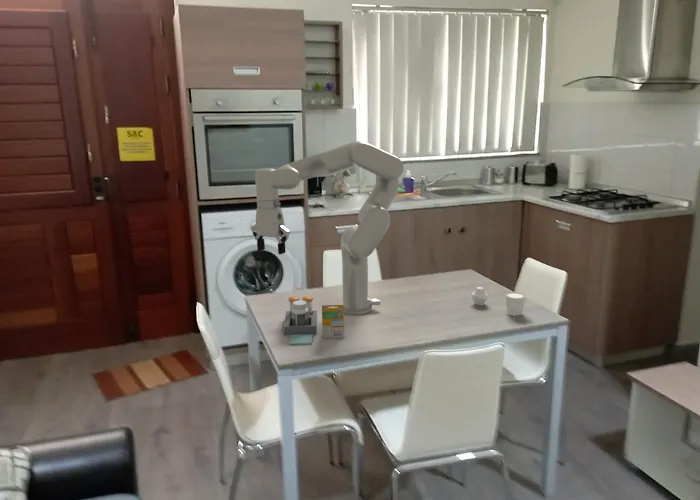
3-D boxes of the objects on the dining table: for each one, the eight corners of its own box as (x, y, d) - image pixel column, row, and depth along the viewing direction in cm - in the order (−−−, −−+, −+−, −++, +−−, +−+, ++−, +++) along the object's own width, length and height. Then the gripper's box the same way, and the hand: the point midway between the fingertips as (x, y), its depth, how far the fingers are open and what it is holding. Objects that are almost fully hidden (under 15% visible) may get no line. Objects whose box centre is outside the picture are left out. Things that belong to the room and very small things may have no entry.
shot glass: (525, 311, 207) (526, 293, 206) (522, 317, 201) (523, 299, 200) (506, 309, 210) (507, 291, 208) (503, 315, 204) (504, 297, 202)
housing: (317, 318, 203) (316, 310, 203) (316, 334, 189) (316, 326, 188) (286, 319, 203) (286, 311, 202) (283, 335, 188) (283, 327, 188)
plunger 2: (313, 313, 202) (312, 295, 200) (313, 316, 199) (312, 299, 197) (303, 313, 202) (302, 296, 200) (303, 317, 198) (302, 299, 197)
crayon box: (344, 334, 188) (343, 301, 186) (344, 338, 186) (344, 304, 183) (322, 335, 188) (321, 302, 185) (322, 338, 185) (321, 305, 182)
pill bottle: (311, 327, 195) (310, 300, 192) (305, 333, 189) (304, 306, 187) (296, 325, 196) (295, 299, 194) (289, 331, 191) (288, 304, 189)
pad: (312, 335, 188) (312, 334, 188) (311, 344, 181) (311, 342, 181) (291, 336, 187) (291, 334, 187) (290, 344, 181) (290, 343, 180)
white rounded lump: (469, 305, 214) (470, 288, 213) (472, 300, 220) (473, 283, 218) (486, 307, 212) (487, 290, 210) (488, 302, 217) (489, 285, 216)
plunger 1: (299, 313, 202) (298, 296, 200) (299, 317, 198) (298, 299, 197) (289, 314, 202) (288, 296, 200) (289, 317, 198) (288, 299, 196)
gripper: (294, 204, 193) (297, 252, 197) (257, 201, 202) (260, 247, 207) (280, 208, 187) (283, 257, 191) (242, 204, 196) (246, 251, 201)
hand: (271, 251), depth 199 cm, fingers open, 9 cm apart
